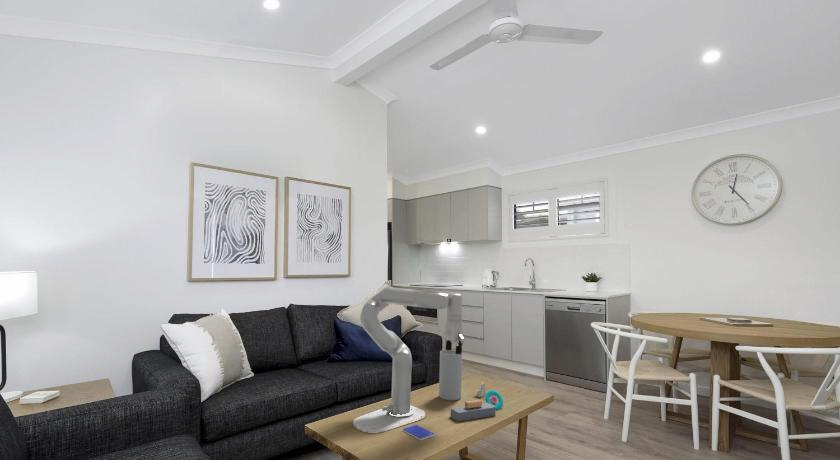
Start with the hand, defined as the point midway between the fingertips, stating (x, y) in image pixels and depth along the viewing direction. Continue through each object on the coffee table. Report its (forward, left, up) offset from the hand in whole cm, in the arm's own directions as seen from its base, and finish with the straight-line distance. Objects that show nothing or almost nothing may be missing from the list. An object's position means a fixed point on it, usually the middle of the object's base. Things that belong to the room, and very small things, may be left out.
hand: (453, 352), depth 213 cm
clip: (+8, -7, -30) cm, 32 cm away
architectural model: (+30, +18, -31) cm, 47 cm away
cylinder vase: (+12, +22, -31) cm, 39 cm away
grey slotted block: (+8, -7, -30) cm, 32 cm away
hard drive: (-26, -15, -31) cm, 44 cm away
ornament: (+25, -1, -31) cm, 39 cm away
